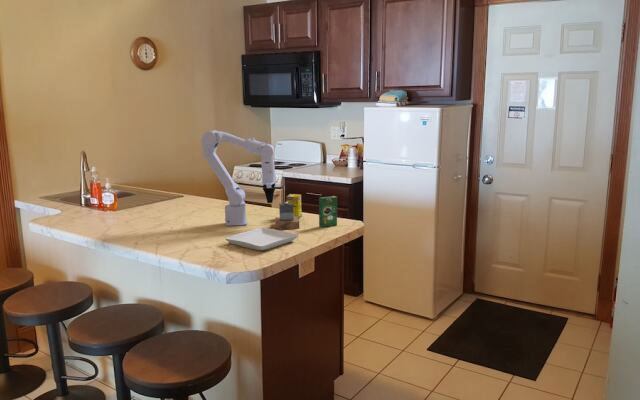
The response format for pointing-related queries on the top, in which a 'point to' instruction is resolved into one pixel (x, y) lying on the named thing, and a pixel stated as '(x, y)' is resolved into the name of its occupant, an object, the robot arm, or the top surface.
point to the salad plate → (262, 238)
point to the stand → (287, 223)
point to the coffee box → (327, 211)
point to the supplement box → (295, 204)
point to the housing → (286, 211)
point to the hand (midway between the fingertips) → (269, 201)
